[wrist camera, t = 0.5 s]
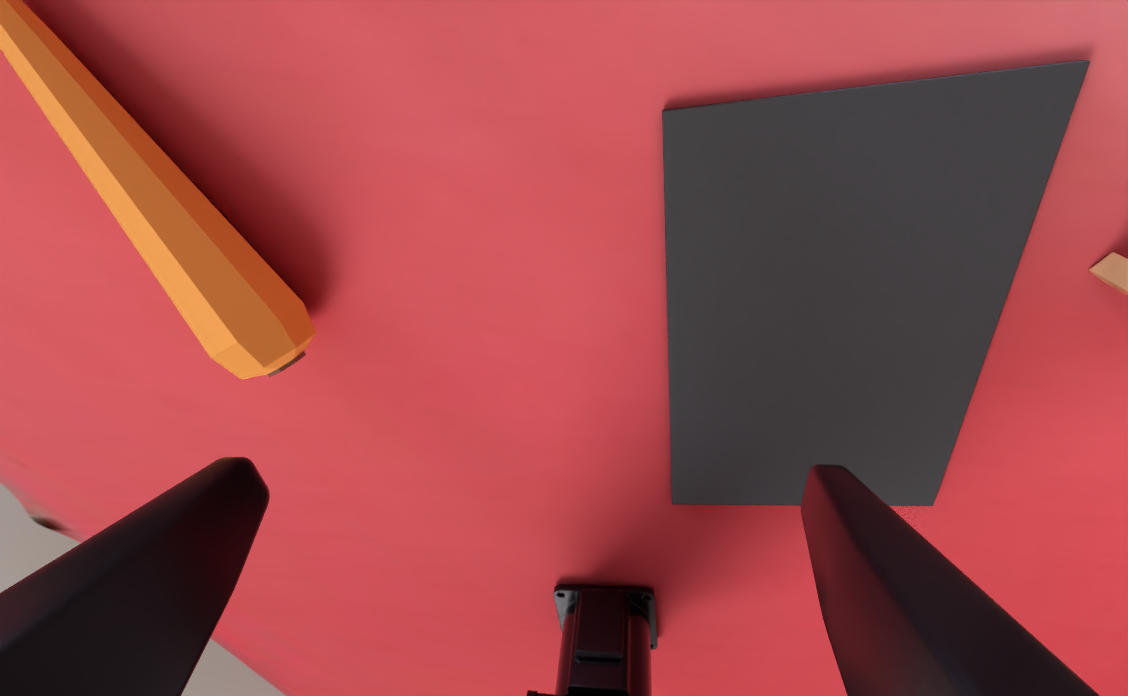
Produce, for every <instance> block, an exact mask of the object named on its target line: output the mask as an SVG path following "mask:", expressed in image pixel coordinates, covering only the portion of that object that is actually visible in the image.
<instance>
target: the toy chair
mask: <svg viewBox="0 0 1128 696" xmlns="http://www.w3.org/2000/svg"><path fill="white" fill-rule="evenodd" d="M1089 271H1090V272H1091V273H1092V274H1094V275H1095V276H1096V277H1098V278H1099V279H1100V280H1101V281H1103V282H1104V283H1106V284H1108V285H1110V286H1111V287H1113V288H1115V289H1117V290H1118V291H1120V292H1122V293H1124V294H1126V295H1127V296H1128V259H1127V258H1125V257H1123V256H1121V255H1119V254H1117V253H1114V252H1112V253H1110V254H1109V255H1108V256H1106V257H1105V258H1104V259H1102V260H1101V261H1100V262H1098V263H1097V264H1096V265H1094V266H1093V267H1092V268H1090V269H1089Z"/></svg>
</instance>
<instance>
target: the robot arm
mask: <svg viewBox="0 0 1128 696" xmlns="http://www.w3.org/2000/svg"><path fill="white" fill-rule="evenodd" d="M268 503H269V489H268V487H267V485H266V484H265V482H264V480H263V479H262V477H261V475H260V474H259V472H258V470H257V469H256V467H255V465H254V464H253V462H252V461H251V460H250V459H248V458H245V457H224V458H221V459H218V460H216V461H215V462H213V463H212V464H210V465H208V466H207V467H205V468H203V469H202V470H200V471H199V472H197V473H195V474H194V475H192V476H190V477H189V478H187V479H185V480H184V481H182V482H181V483H179V484H177V485H176V486H174V487H172V488H171V489H169V490H168V491H166V492H164V493H163V494H161V495H159V496H158V497H156V498H155V499H153V500H151V501H150V502H148V503H146V504H145V505H143V506H141V507H140V508H138V509H137V510H135V511H133V512H132V513H130V514H128V515H127V516H125V517H124V518H122V519H120V520H119V521H117V522H115V523H114V524H112V525H110V526H109V527H107V528H106V529H104V530H102V531H101V532H99V533H97V534H96V535H94V536H93V537H91V538H89V539H88V540H86V541H84V542H83V543H81V544H80V545H78V546H76V547H75V548H73V549H71V550H70V551H68V552H66V553H65V554H63V555H62V556H60V557H58V558H57V559H55V560H53V561H52V562H50V563H49V564H47V565H45V566H44V567H42V568H40V569H39V570H37V571H35V572H34V573H32V574H31V575H29V576H27V577H26V578H24V579H23V580H21V581H19V582H18V583H16V584H14V585H13V586H11V587H9V588H8V589H6V590H5V591H3V592H1V593H0V696H181V694H182V692H183V690H184V689H185V687H186V684H187V683H188V681H189V679H190V677H191V675H192V673H193V671H194V669H195V667H196V664H197V663H198V661H199V659H200V657H201V655H202V653H203V651H204V649H205V647H206V645H207V643H208V641H209V639H210V637H211V635H212V633H213V631H214V629H215V627H216V625H217V623H218V621H219V619H220V617H221V615H222V613H223V611H224V609H225V607H226V605H227V603H228V601H229V599H230V597H231V595H232V593H233V591H234V588H235V586H236V584H237V581H238V579H239V577H240V574H241V572H242V569H243V567H244V564H245V561H246V559H247V556H248V554H249V551H250V549H251V546H252V544H253V541H254V539H255V536H256V534H257V531H258V529H259V526H260V523H261V521H262V518H263V516H264V513H265V511H266V508H267V506H268ZM801 513H802V520H803V524H804V529H805V534H806V539H807V544H808V549H809V554H810V559H811V564H812V568H813V573H814V578H815V583H816V588H817V593H818V598H819V602H820V607H821V611H822V616H823V620H824V623H825V627H826V630H827V633H828V637H829V640H830V643H831V646H832V649H833V652H834V655H835V658H836V661H837V665H838V668H839V671H840V674H841V677H842V680H843V683H844V686H845V689H846V692H847V696H1100V695H1098V694H1097V693H1096V692H1095V691H1094V690H1093V689H1092V688H1091V687H1090V686H1088V685H1087V684H1086V683H1085V682H1084V681H1083V680H1082V679H1081V678H1080V677H1078V676H1077V675H1076V674H1075V673H1074V672H1073V671H1072V670H1071V669H1070V668H1068V667H1067V666H1066V665H1065V664H1064V663H1063V662H1062V661H1061V660H1060V659H1058V658H1057V657H1056V656H1055V655H1054V654H1053V653H1052V652H1051V651H1050V650H1048V649H1047V648H1046V647H1045V646H1044V645H1043V644H1042V643H1041V642H1040V641H1038V640H1037V639H1036V638H1035V637H1034V636H1033V635H1032V634H1031V633H1029V632H1028V631H1027V630H1026V629H1025V628H1024V627H1023V626H1022V625H1021V624H1019V623H1018V622H1017V621H1016V620H1015V619H1014V618H1013V617H1012V616H1011V615H1009V614H1008V613H1007V612H1006V611H1005V610H1004V609H1003V608H1002V607H1001V606H999V605H998V604H997V603H996V602H995V601H994V600H993V599H992V598H991V597H989V596H988V595H987V594H986V593H985V592H984V591H983V590H982V589H981V588H979V587H978V586H977V585H976V584H975V583H974V582H973V581H972V580H971V579H969V578H968V577H967V576H966V575H965V574H964V573H963V572H962V571H960V570H959V569H958V568H957V567H956V566H955V565H954V564H953V563H952V562H950V561H949V560H948V559H947V558H946V557H945V556H944V555H943V554H942V553H940V552H939V551H938V550H937V549H936V548H935V547H934V546H933V545H932V544H930V543H929V542H928V541H927V540H926V539H925V538H924V537H923V536H922V535H920V534H919V533H918V532H917V531H916V530H915V529H914V528H913V527H912V526H910V525H909V524H908V523H907V522H906V521H905V520H904V519H903V518H901V517H900V516H899V515H898V514H897V513H896V512H895V511H894V510H893V509H891V508H890V507H889V506H888V505H887V504H886V503H885V502H884V501H883V500H881V499H880V498H879V497H878V496H877V495H876V494H875V493H874V492H873V491H871V490H870V489H869V488H868V487H867V486H866V485H865V484H864V483H863V482H861V481H860V480H859V479H858V478H857V477H856V476H855V475H854V474H853V473H851V472H850V471H849V470H848V469H847V468H845V467H844V466H842V465H835V464H816V465H813V466H812V467H811V468H810V471H809V474H808V478H807V482H806V485H805V489H804V493H803V497H802V501H801ZM554 599H555V603H556V608H557V612H558V617H559V621H560V625H561V630H562V640H561V649H560V657H559V665H558V674H557V682H556V690H555V695H553V694H543V693H537V691H531V690H528V692H527V696H652V694H651V650H653V649H656V648H657V628H656V610H655V593H654V590H652V589H651V588H646V587H616V586H584V585H557V586H555V588H554Z"/></svg>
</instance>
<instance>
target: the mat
mask: <svg viewBox="0 0 1128 696" xmlns="http://www.w3.org/2000/svg"><path fill="white" fill-rule="evenodd" d="M1089 63H1090V61H1087V60H1081V61H1072V62H1064V63H1055V64H1047V65H1038V66H1030V67H1021V68H1013V69H1005V70H996V71H988V72H979V73H971V74H962V75H954V76H945V77H937V78H928V79H920V80H911V81H903V82H894V83H886V84H878V85H869V86H861V87H852V88H844V89H835V90H827V91H818V92H810V93H801V94H793V95H784V96H776V97H767V98H759V99H751V100H742V101H734V102H725V103H717V104H708V105H700V106H691V107H683V108H674V109H666V110H663V111H662V118H663V158H664V198H665V238H666V278H667V318H668V358H669V398H670V438H671V478H672V504H687V505H801V501H802V497H803V493H804V489H805V485H806V482H807V478H808V474H809V471H810V468H811V467H812V466H813V465H816V464H835V465H842V466H844V467H845V468H847V469H848V470H849V471H850V472H851V473H853V474H854V475H855V476H856V477H857V478H858V479H859V480H860V481H861V482H863V483H864V484H865V485H866V486H867V487H868V488H869V489H870V490H871V491H873V492H874V493H875V494H876V495H877V496H878V497H879V498H880V499H881V500H883V501H884V502H885V503H886V504H887V505H888V506H933V504H934V501H935V498H936V496H937V493H938V490H939V487H940V484H941V481H942V479H943V476H944V473H945V470H946V467H947V464H948V462H949V459H950V456H951V453H952V450H953V448H954V445H955V442H956V439H957V436H958V433H959V431H960V428H961V425H962V422H963V419H964V416H965V414H966V411H967V408H968V405H969V402H970V399H971V397H972V394H973V391H974V388H975V385H976V382H977V380H978V377H979V374H980V371H981V368H982V365H983V363H984V360H985V357H986V354H987V351H988V349H989V346H990V343H991V340H992V337H993V334H994V332H995V329H996V326H997V323H998V320H999V317H1000V315H1001V312H1002V309H1003V306H1004V303H1005V300H1006V298H1007V295H1008V292H1009V289H1010V286H1011V283H1012V281H1013V278H1014V275H1015V272H1016V269H1017V267H1018V264H1019V261H1020V258H1021V255H1022V252H1023V250H1024V247H1025V244H1026V241H1027V238H1028V235H1029V233H1030V230H1031V227H1032V224H1033V221H1034V218H1035V216H1036V213H1037V210H1038V207H1039V204H1040V201H1041V199H1042V196H1043V193H1044V190H1045V187H1046V184H1047V182H1048V179H1049V176H1050V173H1051V170H1052V168H1053V165H1054V162H1055V159H1056V156H1057V153H1058V151H1059V148H1060V145H1061V142H1062V139H1063V136H1064V134H1065V131H1066V128H1067V125H1068V122H1069V119H1070V117H1071V114H1072V111H1073V108H1074V105H1075V102H1076V100H1077V97H1078V94H1079V91H1080V88H1081V85H1082V83H1083V80H1084V77H1085V74H1086V71H1087V69H1088V66H1089Z"/></svg>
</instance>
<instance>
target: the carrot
mask: <svg viewBox="0 0 1128 696" xmlns="http://www.w3.org/2000/svg"><path fill="white" fill-rule="evenodd" d="M0 49H1V50H2V52H3V53H4V55H5V56H6V58H7V59H8V61H9V62H10V64H11V65H12V67H13V68H14V70H15V71H16V73H17V74H18V75H19V77H20V78H21V80H22V81H23V83H24V84H25V86H26V87H27V89H28V90H29V92H30V93H31V95H32V96H33V97H34V99H35V100H36V102H37V103H38V105H39V106H40V108H41V109H42V111H43V112H44V114H45V115H46V117H47V118H48V120H49V121H50V122H51V124H52V125H53V127H54V128H55V130H56V131H57V133H58V134H59V136H60V137H61V139H62V140H63V142H64V143H65V145H66V146H67V147H68V149H69V150H70V152H71V153H72V155H73V156H74V158H75V159H76V161H77V162H78V164H79V165H80V167H81V168H82V169H83V171H84V172H85V174H86V175H87V177H88V178H89V180H90V181H91V183H92V184H93V186H94V187H95V189H96V190H97V192H98V193H99V194H100V196H101V197H102V199H103V200H104V202H105V203H106V205H107V206H108V208H109V209H110V211H111V212H112V214H113V215H114V217H115V218H116V219H117V221H118V222H119V224H120V225H121V227H122V228H123V230H124V231H125V233H126V234H127V236H128V237H129V239H130V240H131V241H132V243H133V244H134V246H135V247H136V249H137V250H138V252H139V253H140V255H141V256H142V258H143V259H144V261H145V262H146V264H147V265H148V266H149V268H150V269H151V271H152V272H153V274H154V275H155V277H156V278H157V280H158V281H159V283H160V284H161V286H162V287H163V288H164V290H165V291H166V293H167V294H168V296H169V297H170V299H171V300H172V302H173V303H174V305H175V306H176V308H177V309H178V311H179V312H180V313H181V315H182V316H183V318H184V319H185V321H186V322H187V324H188V325H189V327H190V328H191V330H192V331H193V333H194V334H195V336H196V337H197V338H198V340H199V341H200V343H201V344H202V346H203V347H204V349H205V350H206V352H207V353H208V355H209V356H210V357H211V358H212V359H213V360H215V361H216V362H218V363H219V364H220V365H222V366H223V367H225V368H226V369H227V370H229V371H230V372H232V373H233V374H234V375H236V376H237V377H239V378H240V379H246V378H251V377H256V376H261V375H266V374H268V375H269V377H271V376H273V375H275V374H277V373H279V372H281V371H283V370H284V369H286V368H288V367H289V366H291V365H292V364H294V363H295V362H297V361H298V360H299V359H301V358H302V357H303V356H305V355H306V354H305V352H304V350H305V349H306V347H307V346H308V344H309V343H310V341H311V340H312V338H313V337H314V336H315V334H316V331H315V329H314V327H313V324H312V322H311V320H310V317H309V315H308V313H307V310H306V308H305V306H304V303H303V302H302V301H301V300H300V299H299V298H298V297H297V295H296V294H295V293H294V292H293V291H292V290H291V289H290V288H289V287H288V286H287V285H286V284H285V282H284V281H283V280H282V279H281V278H280V277H279V276H278V275H277V274H276V273H275V272H274V271H273V270H272V268H271V267H270V266H269V265H268V264H267V263H266V262H265V261H264V260H263V259H262V258H261V257H260V255H259V254H258V253H257V252H256V251H255V250H254V249H253V248H252V247H251V246H250V245H249V244H248V242H247V241H246V240H245V239H244V238H243V237H242V236H241V235H240V234H239V233H238V232H237V231H236V230H235V228H234V227H233V226H232V225H231V224H230V223H229V222H228V221H227V220H226V219H225V218H224V217H223V215H222V214H221V213H220V212H219V211H218V210H217V209H216V208H215V207H214V206H213V205H212V204H211V203H210V201H209V200H208V199H207V198H206V197H205V196H204V195H203V194H202V193H201V192H200V191H199V190H198V188H197V187H196V186H195V185H194V184H193V183H192V182H191V181H190V180H189V179H188V178H187V177H186V175H185V174H184V173H183V172H182V171H181V170H180V169H179V168H178V167H177V166H176V165H175V164H174V163H173V161H172V160H171V159H170V158H169V157H168V156H167V155H166V154H165V153H164V152H163V151H162V150H161V148H160V147H159V146H158V145H157V144H156V143H155V142H154V141H153V140H152V139H151V138H150V137H149V136H148V134H147V133H146V132H145V131H144V130H143V129H142V128H141V127H140V126H139V125H138V124H137V123H136V121H135V120H134V119H133V118H132V117H131V116H130V115H129V114H128V113H127V112H126V111H125V110H124V108H123V107H122V106H121V105H120V104H119V103H118V102H117V101H116V100H115V99H114V98H113V97H112V96H111V94H110V93H109V92H108V91H107V90H106V89H105V88H104V87H103V86H102V85H101V84H100V83H99V81H98V80H97V79H96V78H95V77H94V76H93V75H92V74H91V73H90V72H89V71H88V70H87V69H86V67H85V66H84V65H83V64H82V63H81V62H80V61H79V60H78V59H77V58H76V57H75V56H74V54H73V53H72V52H71V51H70V50H69V49H68V48H67V47H66V46H65V45H64V44H63V43H62V41H61V40H60V39H59V38H58V37H57V36H56V35H55V34H54V33H53V32H52V31H51V30H50V29H49V28H48V27H47V26H46V25H45V24H44V23H43V22H42V21H41V20H40V19H39V18H38V17H37V16H36V15H35V14H34V13H33V12H32V11H31V10H30V9H29V8H28V7H27V6H26V5H25V4H24V3H23V2H22V1H21V0H0Z"/></svg>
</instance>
